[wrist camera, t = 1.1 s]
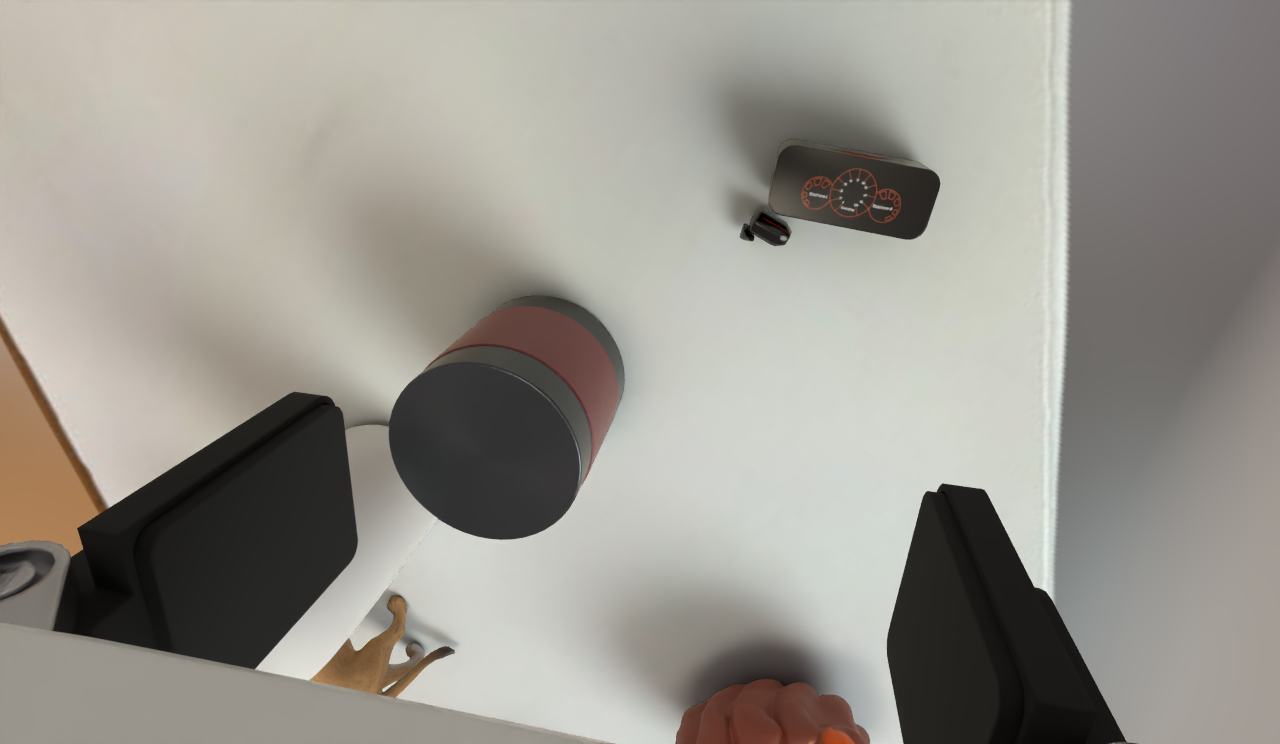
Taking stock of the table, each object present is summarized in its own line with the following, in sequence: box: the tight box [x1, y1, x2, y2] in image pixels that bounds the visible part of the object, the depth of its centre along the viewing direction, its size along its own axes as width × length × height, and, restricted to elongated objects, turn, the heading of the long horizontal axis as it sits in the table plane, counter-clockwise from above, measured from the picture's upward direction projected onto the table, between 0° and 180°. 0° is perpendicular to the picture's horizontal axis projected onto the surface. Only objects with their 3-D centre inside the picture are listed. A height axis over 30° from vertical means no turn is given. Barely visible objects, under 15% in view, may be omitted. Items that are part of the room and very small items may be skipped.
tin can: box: [389, 296, 624, 540], centre depth 33 cm, size 8×8×9 cm
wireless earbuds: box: [740, 139, 940, 246], centre depth 30 cm, size 5×7×3 cm, turn 81°
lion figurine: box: [309, 596, 455, 698], centre depth 42 cm, size 15×5×9 cm, turn 69°
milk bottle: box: [255, 425, 438, 680], centre depth 33 cm, size 8×8×20 cm
